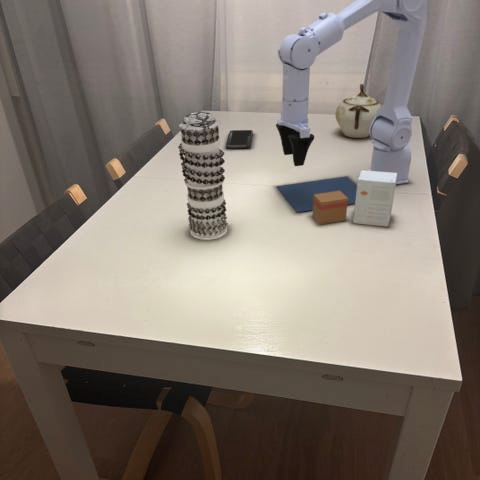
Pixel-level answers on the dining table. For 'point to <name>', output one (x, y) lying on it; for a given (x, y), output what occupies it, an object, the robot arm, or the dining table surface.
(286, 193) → the napkin
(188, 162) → the decorative candle
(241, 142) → the phone
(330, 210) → the packet
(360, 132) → the sugar bowl
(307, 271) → the dining table surface
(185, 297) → the dining table surface
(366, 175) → the small box
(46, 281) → the dining table surface
